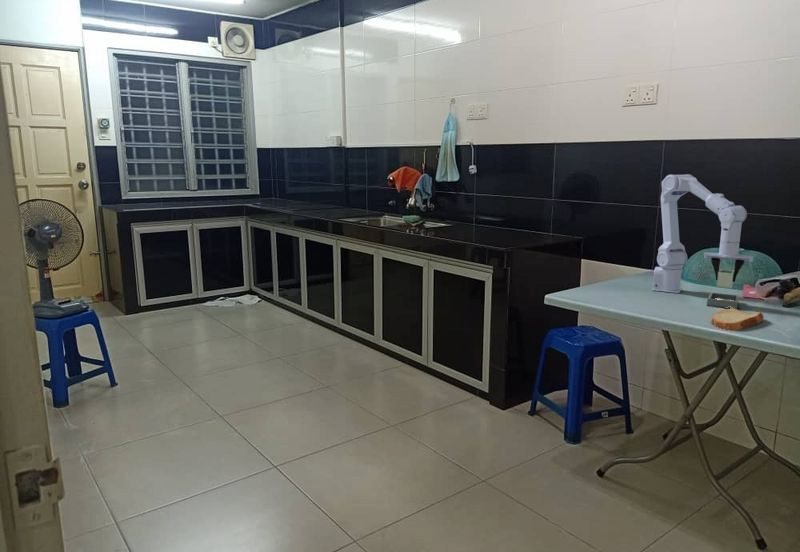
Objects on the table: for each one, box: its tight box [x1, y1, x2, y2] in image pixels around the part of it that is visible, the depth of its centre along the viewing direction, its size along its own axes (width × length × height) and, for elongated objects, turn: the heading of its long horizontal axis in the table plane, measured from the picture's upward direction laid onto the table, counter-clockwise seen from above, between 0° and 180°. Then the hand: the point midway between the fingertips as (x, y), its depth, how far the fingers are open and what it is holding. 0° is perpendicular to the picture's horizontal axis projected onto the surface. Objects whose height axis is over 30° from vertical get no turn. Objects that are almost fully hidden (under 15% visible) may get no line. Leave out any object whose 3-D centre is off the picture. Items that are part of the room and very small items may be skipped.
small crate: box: [716, 268, 734, 289], centre depth 192 cm, size 4×7×5 cm, turn 146°
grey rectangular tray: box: [706, 292, 740, 309], centre depth 194 cm, size 9×11×2 cm
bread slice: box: [710, 308, 765, 332], centre depth 172 cm, size 18×18×4 cm
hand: (725, 280), depth 193 cm, fingers closed on small crate, 4 cm apart
